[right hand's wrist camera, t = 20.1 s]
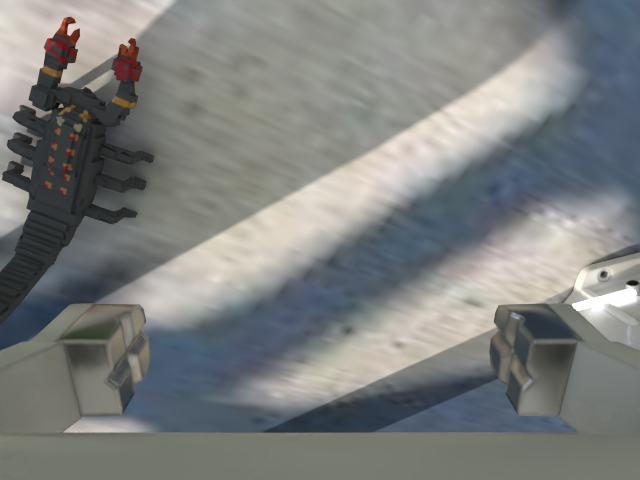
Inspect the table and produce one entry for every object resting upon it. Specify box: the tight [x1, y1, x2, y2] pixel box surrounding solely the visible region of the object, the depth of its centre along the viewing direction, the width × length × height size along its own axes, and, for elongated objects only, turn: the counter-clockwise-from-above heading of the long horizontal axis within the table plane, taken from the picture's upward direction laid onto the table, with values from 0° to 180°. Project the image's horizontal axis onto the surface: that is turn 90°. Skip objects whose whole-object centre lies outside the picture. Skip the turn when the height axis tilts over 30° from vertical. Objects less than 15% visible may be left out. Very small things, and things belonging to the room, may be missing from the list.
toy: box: [0, 17, 154, 324], centre depth 37 cm, size 13×27×18 cm, turn 156°
